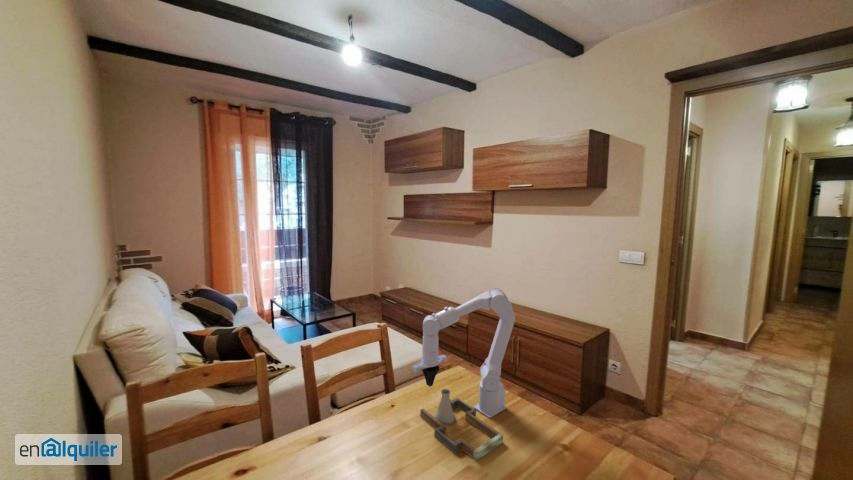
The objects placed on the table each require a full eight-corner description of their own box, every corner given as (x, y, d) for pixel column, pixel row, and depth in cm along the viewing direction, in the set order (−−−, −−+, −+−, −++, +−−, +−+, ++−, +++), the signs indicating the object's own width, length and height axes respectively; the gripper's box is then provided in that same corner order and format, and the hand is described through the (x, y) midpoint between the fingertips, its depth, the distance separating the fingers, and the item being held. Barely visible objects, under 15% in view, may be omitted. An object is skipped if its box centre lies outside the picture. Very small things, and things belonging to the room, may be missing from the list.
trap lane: (451, 400, 130) (451, 394, 129) (508, 438, 110) (508, 431, 109) (414, 419, 118) (414, 412, 118) (469, 465, 98) (469, 457, 98)
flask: (454, 426, 115) (454, 398, 114) (432, 423, 117) (433, 395, 115) (456, 413, 122) (457, 387, 121) (436, 410, 124) (437, 384, 122)
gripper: (438, 340, 131) (437, 374, 132) (407, 350, 122) (407, 386, 123) (450, 347, 125) (449, 381, 127) (419, 358, 116) (419, 395, 118)
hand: (429, 384), depth 125 cm, fingers closed
